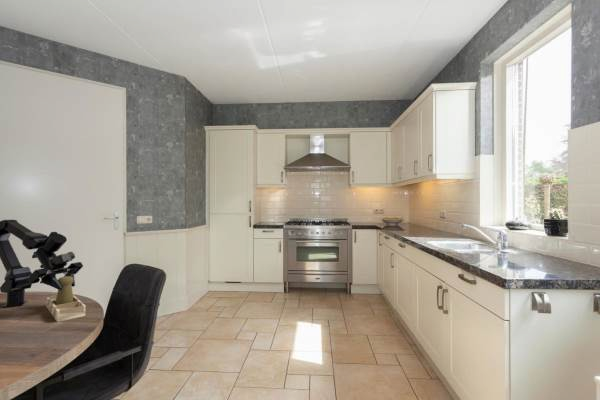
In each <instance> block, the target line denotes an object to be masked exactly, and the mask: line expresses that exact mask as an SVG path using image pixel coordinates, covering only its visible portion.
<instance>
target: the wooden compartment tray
mask: <svg viewBox="0 0 600 400" xmlns="http://www.w3.org/2000/svg"><path fill="white" fill-rule="evenodd" d="M56 298H57V294H55V295H50V296H46V298H45V307H46V308H47V310H48V311H49V312H50V314H51V315H52V317H53V318H54V320H55V321H56V322H57V323H58V322H63V321H68V320H72V319H77V318H82V317H86V304H84V303H83V301H81V300H80V299H79V298H78V297H77V296H76V295H75V294H73V301H74V302H71V303H66V304H60V305H55V302H56Z"/></svg>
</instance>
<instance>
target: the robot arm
mask: <svg viewBox="0 0 600 400" xmlns="http://www.w3.org/2000/svg"><path fill="white" fill-rule="evenodd" d="M11 234H12V235H13V236H14V237H15V238H18V239H19V240H20V241H21V242H22V246H24V247H25V249H27V250H28V251H29V250H35V251H33V253H32V256H31V259H37V260H38V261H39V262H40V264H41V265H40V266H39V269H35V270H33V272H32V271H31V268H30V267H29V266H22V264H21V262H20V260H19V257H18V256H17V254H16V252H15V250H14V248H13V246H12V243H11V242H10V239H9V238H10V236H11ZM66 242H67V237H66V236H64V235H63V234H62V233H58V232H57V231H51V232H50V233H49V235H47V234H44V233H41V232H34V231H32V230H30V229H29V227H28V228H27V227H26V226H24V224H23V225H22V224H21V223H19V221H18V220H17V219H3V220H0V261H1V262H2V264H3V267H4V269H5V271H6V273H5V276H4V282H3V283H2V284H1V286H0V293H2V294H3V293H4V294H6V303H5V304H4V305H2V308H9V307H18V306H24V305H25V304H26V303H27V302H28V301H29V300H27V299H25V297H26V293H25V292H26V289H31V288H32V285H33V284H37V283H40V284H44V285H47V286H49V287H52V288H54V289H57V291H58V290H62V286H61V284H60V283H59V281H58V278H57V276H56V275H60V274H63V275H64V276H63V277H65V276H71V277H72V278H73V283H72V288H74V287H75V286H76V280H75V275H76V274H77V273H79V271H80V270H81V269H82V268H83V267H84V265H83V263H82V262H80V261H78V262H72V261H73V260H74V259H75V258H76V255H75V253H74V252H73V251H68V252H66V253H61V254H59V255H57V254H56V252H58V251H59V250H60V249H61V248H62V247H63V246H64V245H65V243H66ZM69 262H71V263H70V264H69V265H68V263H69ZM67 265H68V266H67Z"/></svg>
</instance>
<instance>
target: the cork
mask: <svg viewBox="0 0 600 400" xmlns="http://www.w3.org/2000/svg"><path fill="white" fill-rule="evenodd" d="M64 276H65V275H64ZM64 276H62V277H59V278H57V280H58V281H59V283H60V284H61V286H62V290H58V289H57V293H56V295H57V298H56V302H55V305H60V304H66V303H71V302H74V301H73V295H74V293H73V286H72V283H73V278H72V277H71V276H65V277H64Z"/></svg>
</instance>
